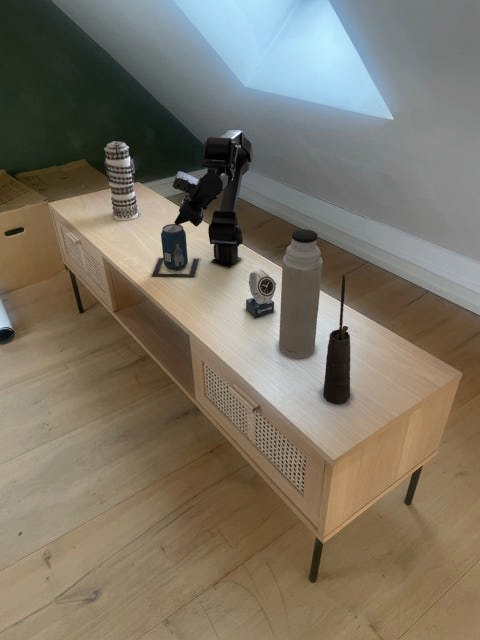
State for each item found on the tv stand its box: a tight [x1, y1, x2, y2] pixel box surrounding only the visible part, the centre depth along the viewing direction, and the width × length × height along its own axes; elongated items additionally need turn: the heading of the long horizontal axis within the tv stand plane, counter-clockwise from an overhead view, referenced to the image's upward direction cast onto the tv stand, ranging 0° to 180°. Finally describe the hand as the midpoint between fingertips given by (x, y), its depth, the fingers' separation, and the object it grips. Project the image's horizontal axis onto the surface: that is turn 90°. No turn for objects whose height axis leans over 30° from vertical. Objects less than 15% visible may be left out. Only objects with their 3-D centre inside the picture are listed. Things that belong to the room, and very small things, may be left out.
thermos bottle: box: [278, 228, 324, 360], centre depth 105 cm, size 8×8×28 cm
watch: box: [245, 269, 277, 319], centre depth 122 cm, size 6×8×11 cm
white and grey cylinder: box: [103, 140, 139, 221], centre depth 170 cm, size 9×9×25 cm
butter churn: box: [322, 274, 351, 405], centre depth 93 cm, size 9×10×28 cm
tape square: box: [151, 257, 200, 278], centre depth 145 cm, size 11×12×1 cm
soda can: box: [160, 223, 189, 272], centre depth 142 cm, size 7×7×12 cm
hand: (175, 223), depth 137 cm, fingers closed
